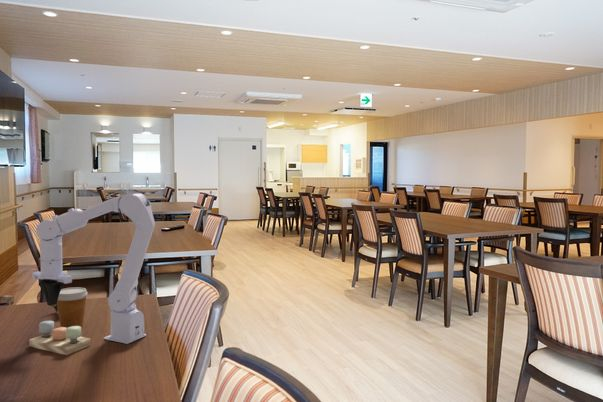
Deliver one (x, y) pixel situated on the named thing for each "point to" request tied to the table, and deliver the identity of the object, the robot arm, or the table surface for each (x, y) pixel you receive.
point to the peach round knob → (59, 333)
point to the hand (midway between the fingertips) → (52, 304)
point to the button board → (59, 344)
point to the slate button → (46, 328)
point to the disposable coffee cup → (71, 306)
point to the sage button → (73, 333)
